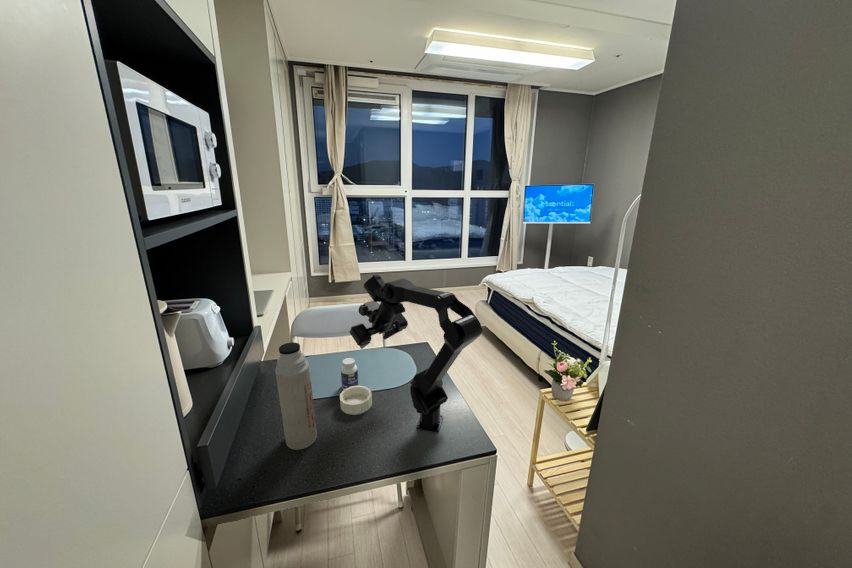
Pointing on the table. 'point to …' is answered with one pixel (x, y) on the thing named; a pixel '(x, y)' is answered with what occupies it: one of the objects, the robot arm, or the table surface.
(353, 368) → the pill bottle
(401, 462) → the table surface
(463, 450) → the table surface
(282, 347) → the thermos bottle
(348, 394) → the bowl
